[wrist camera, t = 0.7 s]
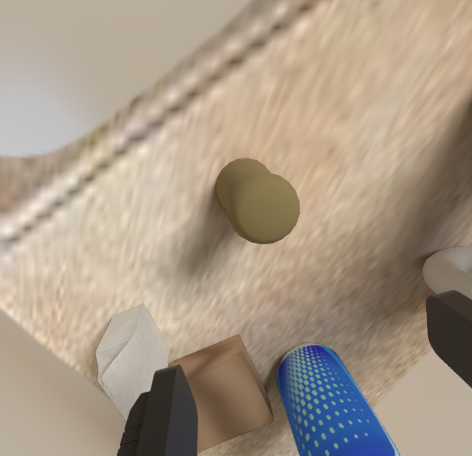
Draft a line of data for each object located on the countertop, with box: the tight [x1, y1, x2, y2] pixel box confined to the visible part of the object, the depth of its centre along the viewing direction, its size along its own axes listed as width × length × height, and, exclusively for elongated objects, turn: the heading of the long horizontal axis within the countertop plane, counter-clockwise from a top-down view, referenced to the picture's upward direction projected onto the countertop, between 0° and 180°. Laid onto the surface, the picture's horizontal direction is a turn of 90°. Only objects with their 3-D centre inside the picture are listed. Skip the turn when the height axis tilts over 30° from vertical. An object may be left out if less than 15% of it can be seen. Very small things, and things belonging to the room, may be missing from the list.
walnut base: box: [168, 334, 274, 453], centre depth 35 cm, size 10×10×4 cm
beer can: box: [276, 343, 402, 456], centre depth 30 cm, size 8×8×16 cm
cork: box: [216, 158, 300, 244], centre depth 25 cm, size 6×6×11 cm
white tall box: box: [96, 303, 170, 422], centre depth 29 cm, size 4×7×10 cm, turn 21°
